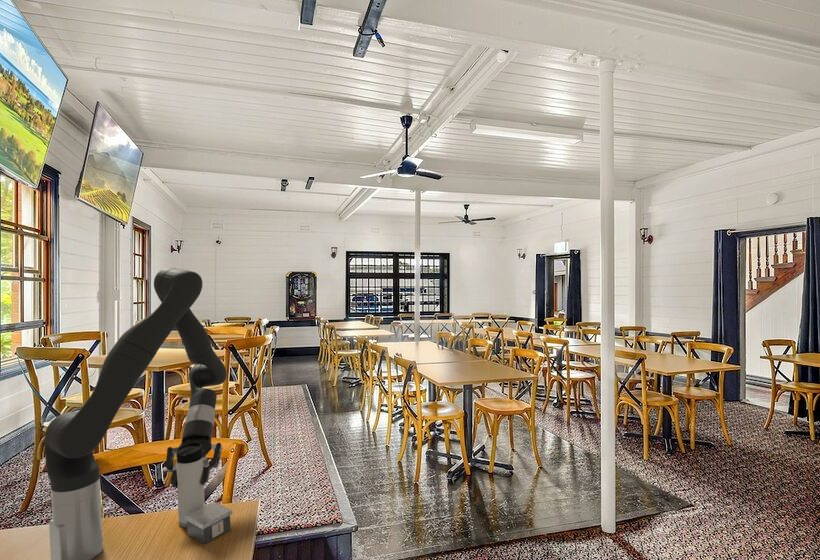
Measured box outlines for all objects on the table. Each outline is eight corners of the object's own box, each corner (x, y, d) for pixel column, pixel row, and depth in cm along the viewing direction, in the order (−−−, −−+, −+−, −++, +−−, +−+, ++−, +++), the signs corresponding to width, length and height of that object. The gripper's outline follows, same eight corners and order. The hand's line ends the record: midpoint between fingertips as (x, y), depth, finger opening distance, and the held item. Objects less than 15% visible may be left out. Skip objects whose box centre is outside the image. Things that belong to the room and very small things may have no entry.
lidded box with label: (203, 545, 110) (202, 525, 110) (185, 535, 115) (184, 515, 115) (232, 529, 117) (232, 510, 117) (214, 520, 122) (213, 501, 121)
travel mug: (210, 514, 124) (207, 441, 124) (196, 528, 118) (193, 451, 117) (188, 513, 125) (185, 440, 124) (173, 527, 119) (170, 450, 118)
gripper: (168, 420, 127) (154, 483, 115) (223, 416, 129) (215, 476, 118) (175, 433, 132) (162, 493, 121) (228, 428, 135) (221, 487, 123)
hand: (189, 485), depth 120 cm, fingers closed on travel mug, 6 cm apart
